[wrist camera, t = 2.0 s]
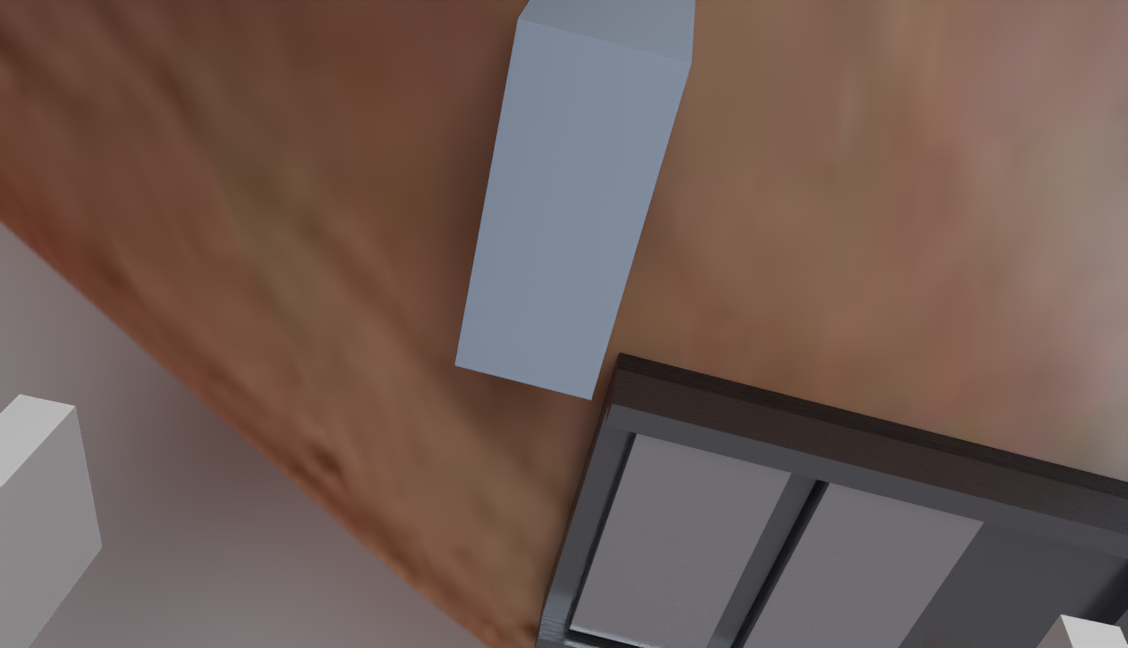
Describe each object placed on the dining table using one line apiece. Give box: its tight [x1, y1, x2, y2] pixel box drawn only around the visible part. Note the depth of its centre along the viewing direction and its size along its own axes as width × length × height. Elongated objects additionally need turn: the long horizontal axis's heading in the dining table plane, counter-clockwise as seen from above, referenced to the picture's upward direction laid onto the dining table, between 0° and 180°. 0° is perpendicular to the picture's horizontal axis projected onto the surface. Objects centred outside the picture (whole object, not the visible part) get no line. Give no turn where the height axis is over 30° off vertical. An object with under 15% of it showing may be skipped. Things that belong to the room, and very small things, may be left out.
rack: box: [535, 353, 1128, 648], centre depth 36 cm, size 22×14×4 cm, turn 78°
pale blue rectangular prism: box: [455, 0, 695, 400], centre depth 26 cm, size 4×10×7 cm, turn 168°
